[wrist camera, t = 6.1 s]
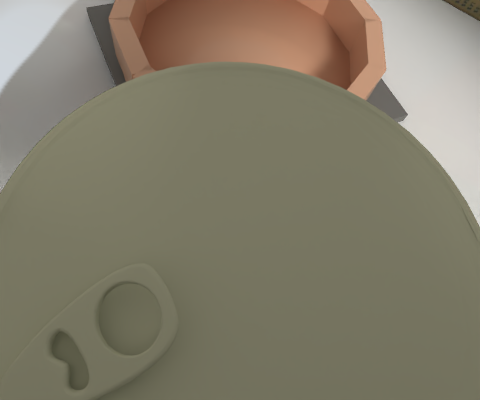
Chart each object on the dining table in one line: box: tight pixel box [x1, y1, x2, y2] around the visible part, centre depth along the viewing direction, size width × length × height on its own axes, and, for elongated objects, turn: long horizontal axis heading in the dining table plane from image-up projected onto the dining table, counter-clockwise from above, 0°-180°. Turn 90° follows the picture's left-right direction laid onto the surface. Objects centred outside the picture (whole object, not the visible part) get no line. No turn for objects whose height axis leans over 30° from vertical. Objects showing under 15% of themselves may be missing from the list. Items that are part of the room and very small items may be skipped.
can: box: [0, 62, 480, 400], centre depth 11 cm, size 9×9×12 cm
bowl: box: [109, 0, 386, 100], centre depth 22 cm, size 15×15×3 cm
